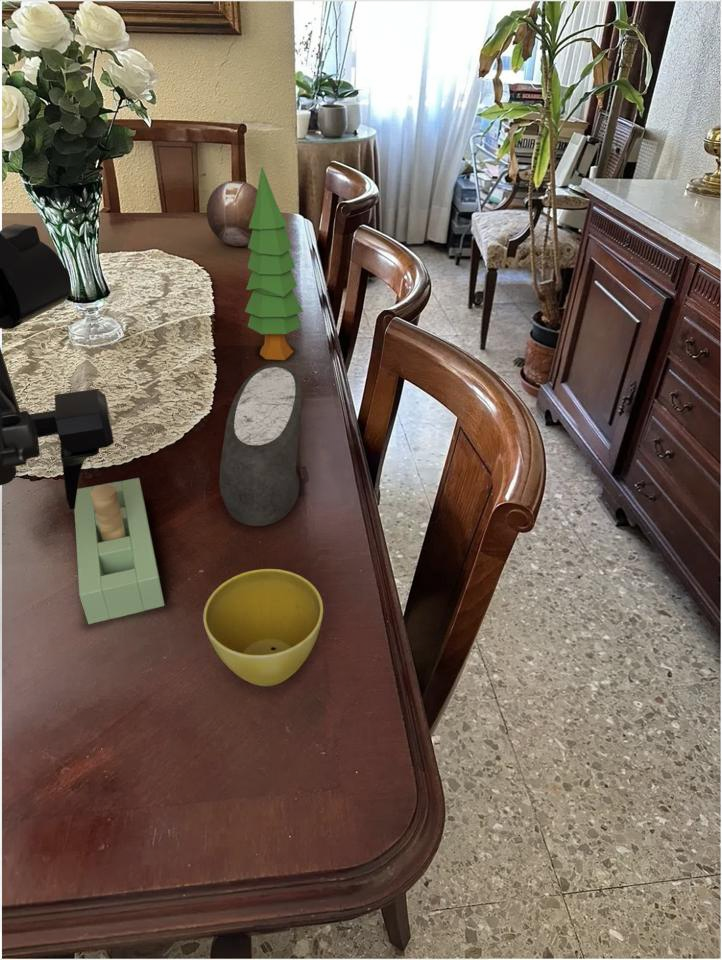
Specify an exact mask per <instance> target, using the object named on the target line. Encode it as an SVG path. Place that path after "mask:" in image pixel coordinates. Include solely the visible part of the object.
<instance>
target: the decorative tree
mask: <svg viewBox="0 0 722 960" xmlns="http://www.w3.org/2000/svg"><path fill="white" fill-rule="evenodd" d="M260 168H261V169H260V174H259V179H258V185H257V190H258V191H257V197H256V203H255V208H254V211H253V215H252V218H251V221H250V225H249V228H253V231H252V234H251V238H250V241H249V245H248V246H247V248H248V249H249V250H251V252H250V256H249V260H248V262H247V263H248V264H247V269H248V270H251V274H250V276H249V279H248V281H247V282H248V283H247V286H246V288H245V291H252V292H251V295H250V298H249V299H248V302H247V305H246V307H245V309H244V312H245V313H247V314H250V316H249V319H248V324H247V328H249V329H251V330H253V331H255V332H256V333H259V334H260V335H264V342H263V345H262V346H261V347H260V351H259V355H260V356H261V357H262V358H263V359H265V360H276V361H277V360H279V361H285V360H287V359H288V358H289V357H290V356H291V355H292V354H293V353H294V350H293V348H291V347H290V345H289V344H288V342H287V341H286V337H285V335H287V334H289V333H291V332H293V331H296V330H297V329H300V328H301V327H302V324H301V321H300V318H299V316H298V314H301V313H303V312H304V310H303V308H302V306H301V304H300V302H299V300H298V298H297V296H296V294H295V292H294V289H295V288H296V287H297V286H298V285H297V282H296V280H295V278H294V275H293V273H292V270H294V269H296V266H295V263H294V259H293V258H292V256H291V255H292V254H291V252H290V250H292V249H293V246H292V244H291V240H290V237H289V235H288V233H287V230H286V227H288V226H289V225H288V223H287V221H286V219H285V217H284V215H283V213H282V211H281V210H280V209H281V208H280V207H279V205H278V203H277V201H276V198H275V195H274V193H273V191H272V188H271V184H270V183H269V180H268V178H267V175H266V172H265V170H264V168H263V166H261V167H260Z"/></svg>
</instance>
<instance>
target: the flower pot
mask: <svg viewBox="0 0 722 960" xmlns="http://www.w3.org/2000/svg"><path fill="white" fill-rule="evenodd" d="M323 603H324V602H323V599H322V597H321V594H320V593H319V591H318V590H317V588H316V587H315V586H314V585H313V583H311V582H310V581H309V580H308V579H306V578H304V577H303V576H302V575H299V574H296V573H294V572H292V571H288V570H284V569H280V568H279V569H276V568H261V569H254V570H253V569H252V570H249V571H245V572H242V573H239V574H237V575H235V576H233V577H231V578H229V579H227V580H226V581H224V582H222V583H221V584H220V585H219V586H218V587H216V589H215V590H214V591H213V592H211V595H210V596H209V597H208V599H207V601H206V603H205V606H204V609H203V615H202V617H203V618H202V619H203V625H204V629H205V631H206V635H207V637H208V639H209V641H210V643H211V645H212V647H213V649H214V651H215V652H216V654H217V655H218V657H219V658H220V660H221V661H222V662H223V663H224V665H225V666H227V668H228V669H229V670H230V671H232V672H233V673H234V674H235V675H236V676H237V677H239V678H241V679H242V680H244V681H245V682H247V683H250V684H252V685H255V686H258V687H272V686H276V685H280V684H281V683H283V682H285V681H287V680H289V678H290V677H292V676H293V675H294V674H295V673H296V672H297V671H298V670H299V669H300V668H301V666H302V665H303V664H304V663H305V661H306V660H307V659H308V657H309V655H310V654H311V652H312V650H313V648H314V647H315V644H316V641H317V639H318V636H319V632H320V630H321V626H322V622H323V615H324V604H323Z"/></svg>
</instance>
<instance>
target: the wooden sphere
mask: <svg viewBox="0 0 722 960" xmlns="http://www.w3.org/2000/svg"><path fill="white" fill-rule="evenodd" d="M257 191H258V188H256V187H255V186H254V185H252V184H250V183H248V182H245V181H242V180H229V181H225V182H222V183H221V184H220V185H218V186H217V187H216V188H215V189H213V191H212V193H211V194H210V196H209V197H208V200H207V203H206V220H207V223H208V225H209V228H210V229H211V231H212V233H213V234H214V236H215V237H217V238H218V239H219V241H221V242H223V243H225V244H227V245H228V246H232V247H237V248H243V247H248V245H249V241H250V238H251V234H252V231H253V228H249V225H250V221H251V218H252V215H253V211H254V208H255V203H256V197H257Z"/></svg>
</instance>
